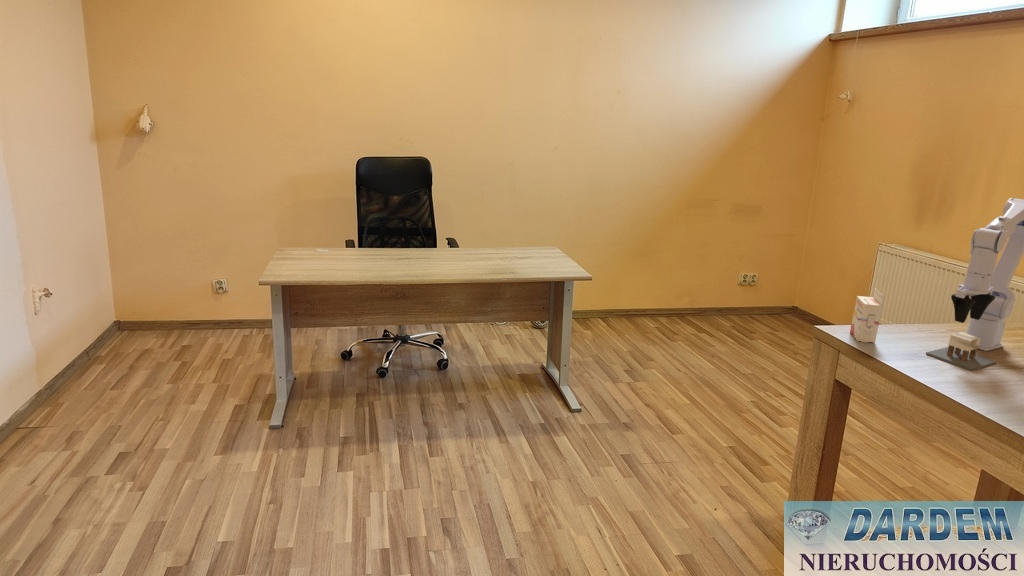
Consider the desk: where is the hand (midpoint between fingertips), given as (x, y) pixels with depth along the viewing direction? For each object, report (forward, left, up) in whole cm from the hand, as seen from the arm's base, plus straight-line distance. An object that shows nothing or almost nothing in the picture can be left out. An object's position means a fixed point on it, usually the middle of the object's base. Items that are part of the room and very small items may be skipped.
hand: (967, 320), depth 178 cm
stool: (+2, +2, -10) cm, 10 cm away
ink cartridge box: (+13, -20, -11) cm, 26 cm away
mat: (+2, +2, -10) cm, 11 cm away
